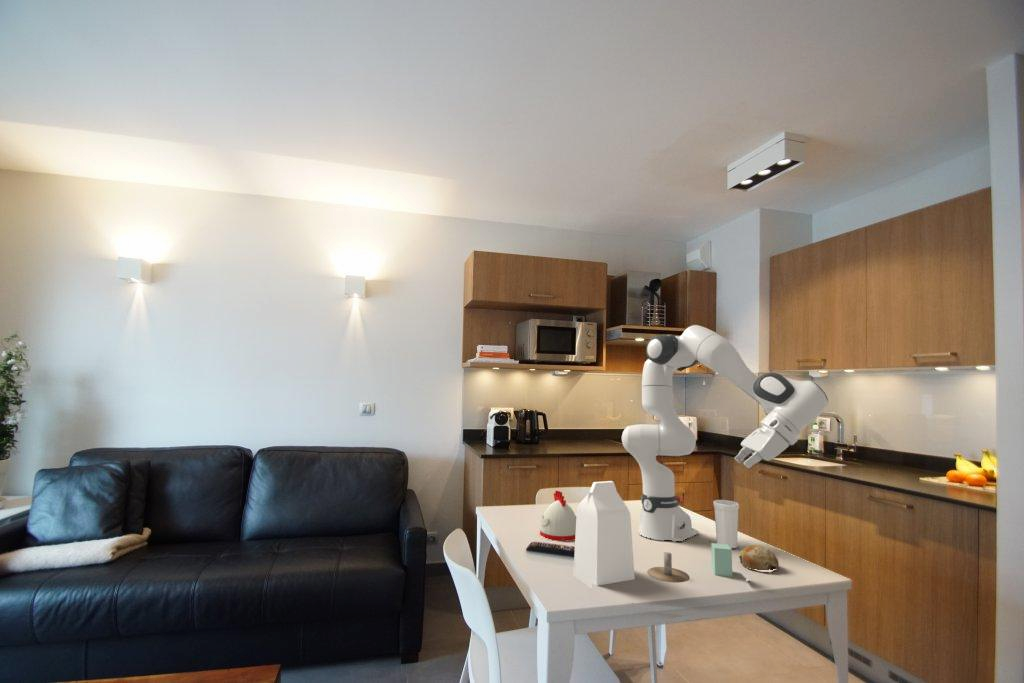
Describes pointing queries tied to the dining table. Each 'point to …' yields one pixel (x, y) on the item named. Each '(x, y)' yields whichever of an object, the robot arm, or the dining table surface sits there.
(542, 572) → the dining table surface
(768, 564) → the bread roll
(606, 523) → the milk
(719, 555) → the mint rectangular pillar
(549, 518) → the kitchen timer
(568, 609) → the dining table surface
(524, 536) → the dining table surface
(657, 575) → the post stand
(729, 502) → the cup
